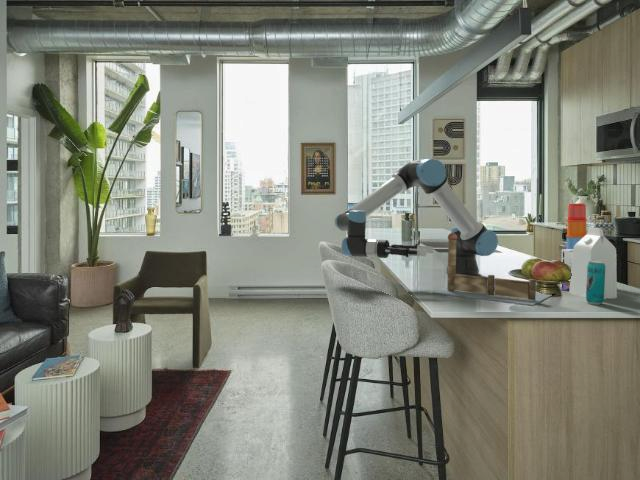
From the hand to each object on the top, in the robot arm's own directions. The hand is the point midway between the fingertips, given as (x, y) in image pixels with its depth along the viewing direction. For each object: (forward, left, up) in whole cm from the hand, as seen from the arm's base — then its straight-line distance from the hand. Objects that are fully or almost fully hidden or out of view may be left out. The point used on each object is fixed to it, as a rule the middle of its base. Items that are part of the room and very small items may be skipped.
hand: (429, 251), depth 220 cm
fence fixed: (-2, +32, -15) cm, 36 cm away
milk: (-28, +55, -16) cm, 64 cm away
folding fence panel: (-2, +15, -15) cm, 21 cm away
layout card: (-8, +24, -16) cm, 30 cm away
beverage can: (-12, +59, -16) cm, 62 cm away
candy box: (-38, +48, -16) cm, 63 cm away
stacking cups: (-55, +43, -16) cm, 72 cm away
